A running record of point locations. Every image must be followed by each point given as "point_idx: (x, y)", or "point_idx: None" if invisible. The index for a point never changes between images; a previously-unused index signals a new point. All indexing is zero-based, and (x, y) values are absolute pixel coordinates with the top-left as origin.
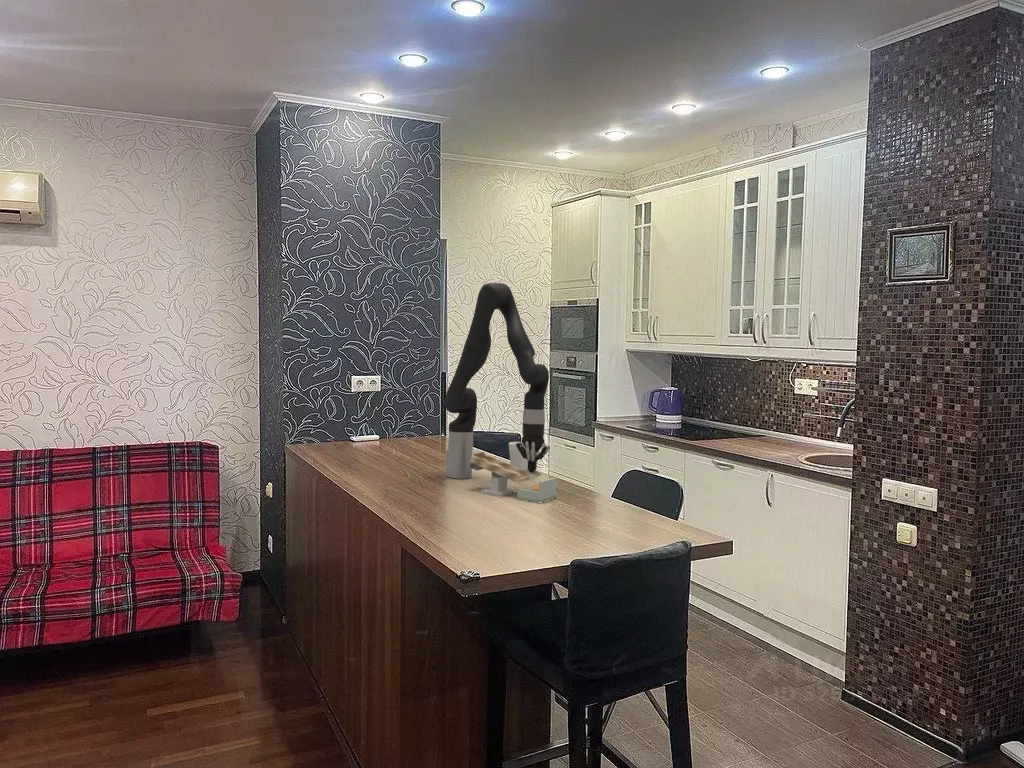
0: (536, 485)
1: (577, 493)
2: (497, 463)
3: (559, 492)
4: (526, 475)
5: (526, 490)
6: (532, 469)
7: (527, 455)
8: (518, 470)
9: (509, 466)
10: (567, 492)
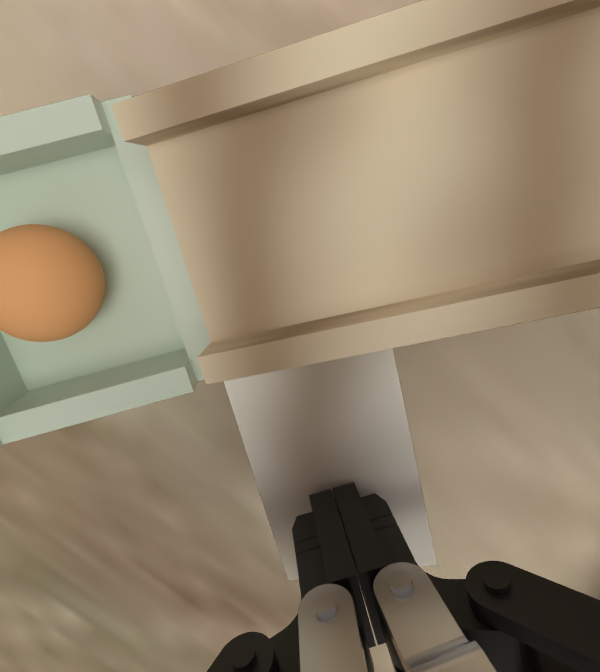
0: (10, 268)
1: (88, 634)
2: None
3: (176, 559)
4: (234, 339)
5: (10, 114)
6: (312, 513)
7: (447, 629)
8: (355, 318)
9: (512, 287)
10: (148, 601)
